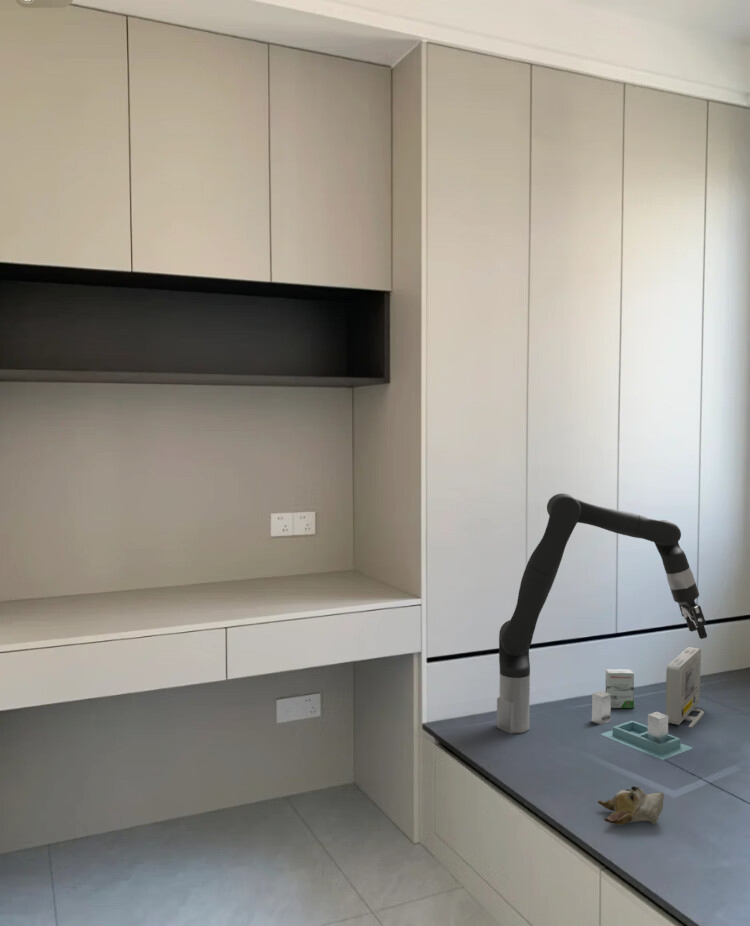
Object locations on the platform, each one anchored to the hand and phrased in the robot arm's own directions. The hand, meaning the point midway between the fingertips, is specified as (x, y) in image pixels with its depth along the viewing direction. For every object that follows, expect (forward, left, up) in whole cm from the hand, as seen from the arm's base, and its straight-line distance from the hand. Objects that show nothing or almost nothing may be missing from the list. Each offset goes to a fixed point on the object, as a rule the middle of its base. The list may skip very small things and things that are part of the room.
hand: (698, 634), depth 253 cm
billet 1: (-18, +22, -30) cm, 41 cm away
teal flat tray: (-22, +2, -30) cm, 37 cm away
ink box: (-2, +28, -30) cm, 41 cm away
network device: (+6, +9, -30) cm, 32 cm away
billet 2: (-22, -2, -29) cm, 36 cm away
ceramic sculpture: (-61, -24, -31) cm, 72 cm away
